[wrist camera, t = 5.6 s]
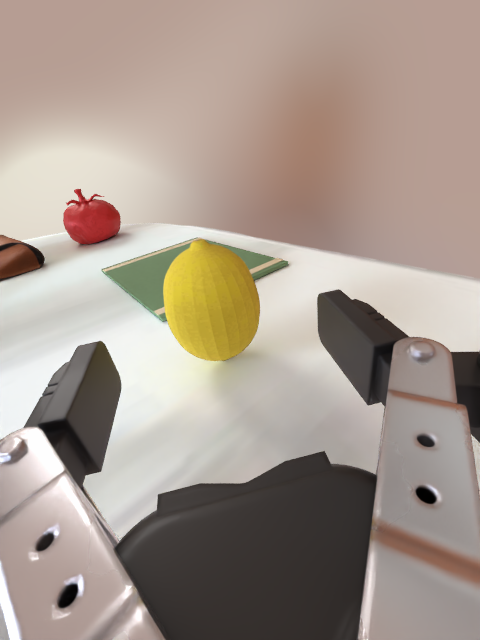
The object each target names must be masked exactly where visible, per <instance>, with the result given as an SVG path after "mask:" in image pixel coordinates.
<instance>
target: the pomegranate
mask: <svg viewBox="0 0 480 640" xmlns="http://www.w3.org/2000/svg"><path fill="white" fill-rule="evenodd" d="M74 192H75V193H76V194H77V195H78V197H79V201H75V200H71V201H69V202H68V203H67V205H69V204H70V203H76V205H73V206H70V207H68V208H67V209H66V210H65V212H64V220H63V221H64V226H65V229H66V230H67V232H68V234H69V235H70V237H71V238H72V239H73V240H74V241H76V242H78V243H80V244H93V243H96V242H100V241H103V240H106V239H108V238H110V237H112V236H114V235H116V234H117V233H118V231H119V229H120V214H119V212H118V211H117V210H116V209H115V207H114V206H113V205H111V204H110V203H107V202H106V201H103V200H96V199H94V200H92V199H93V198H94V197H95V196H99V197H102V196H100V195H97V194H94V195H93V196H92V197H91V198H90V199H88V200H86V199H85V197H83V196H82V193H81V189H76V190H74Z"/></svg>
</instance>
